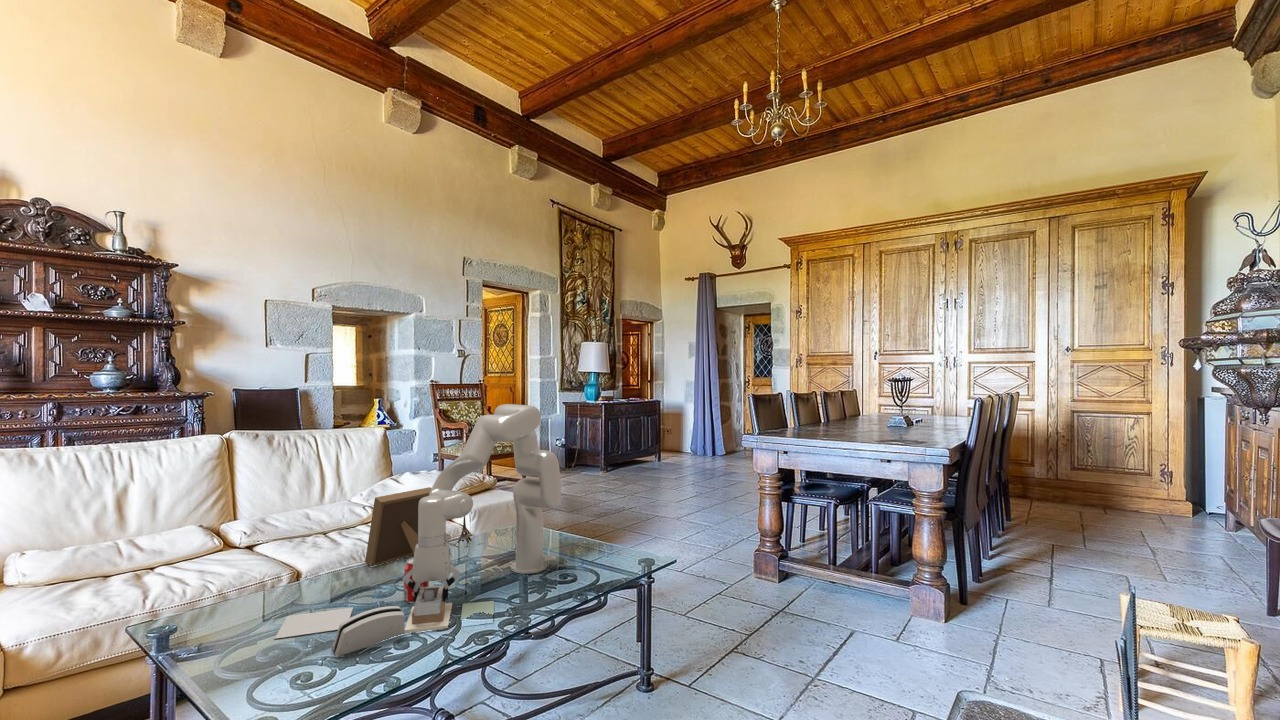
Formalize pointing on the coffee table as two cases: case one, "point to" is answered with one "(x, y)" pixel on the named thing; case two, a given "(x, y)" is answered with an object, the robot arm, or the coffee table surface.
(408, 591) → the soda can
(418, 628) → the stand
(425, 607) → the link
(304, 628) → the paper stack
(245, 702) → the coffee table surface
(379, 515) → the photo frame
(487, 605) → the mat
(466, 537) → the eiffel tower figurine
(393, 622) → the grey arched casing
